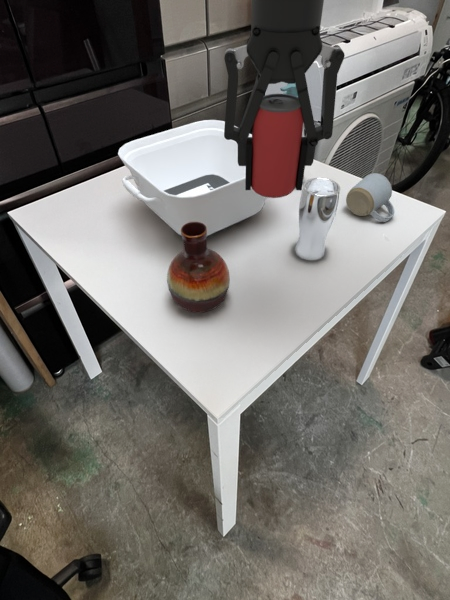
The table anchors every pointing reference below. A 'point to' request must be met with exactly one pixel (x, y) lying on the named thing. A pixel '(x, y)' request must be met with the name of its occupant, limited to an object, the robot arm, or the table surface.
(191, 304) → the vase
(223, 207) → the white wash basin
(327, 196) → the beer glass
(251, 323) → the table surface
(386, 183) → the ceramic mug
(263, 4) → the robot arm
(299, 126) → the beer can
